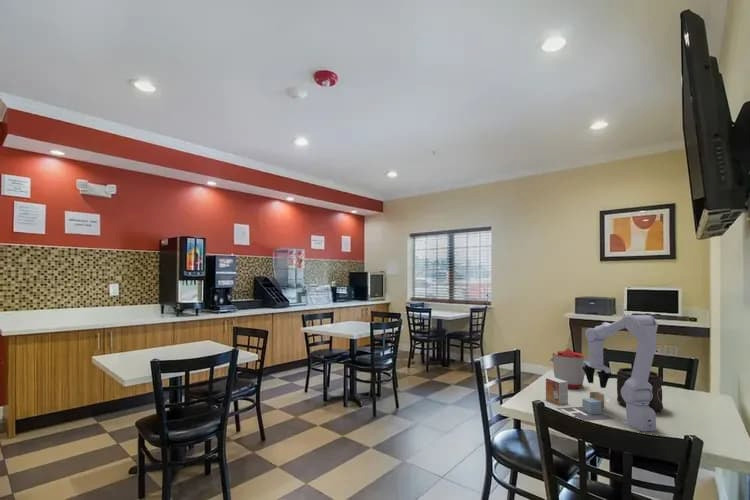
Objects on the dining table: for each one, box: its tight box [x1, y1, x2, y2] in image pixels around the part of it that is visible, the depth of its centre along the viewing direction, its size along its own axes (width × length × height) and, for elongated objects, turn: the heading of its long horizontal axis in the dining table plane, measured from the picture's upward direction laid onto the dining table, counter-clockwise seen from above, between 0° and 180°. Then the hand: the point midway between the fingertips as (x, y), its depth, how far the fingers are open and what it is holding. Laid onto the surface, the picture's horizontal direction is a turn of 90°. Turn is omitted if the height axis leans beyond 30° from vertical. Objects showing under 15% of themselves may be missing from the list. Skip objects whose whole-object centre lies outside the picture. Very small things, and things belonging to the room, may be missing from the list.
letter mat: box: [556, 406, 615, 422], centre depth 163 cm, size 15×16×1 cm
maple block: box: [589, 391, 605, 408], centre depth 173 cm, size 4×4×6 cm
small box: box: [545, 376, 569, 405], centre depth 178 cm, size 8×6×10 cm
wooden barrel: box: [616, 367, 664, 414], centre depth 174 cm, size 18×18×16 cm
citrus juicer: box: [549, 347, 586, 390], centre depth 206 cm, size 16×17×20 cm
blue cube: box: [581, 397, 602, 414], centre depth 165 cm, size 5×5×5 cm
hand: (596, 385), depth 173 cm, fingers open, 7 cm apart
